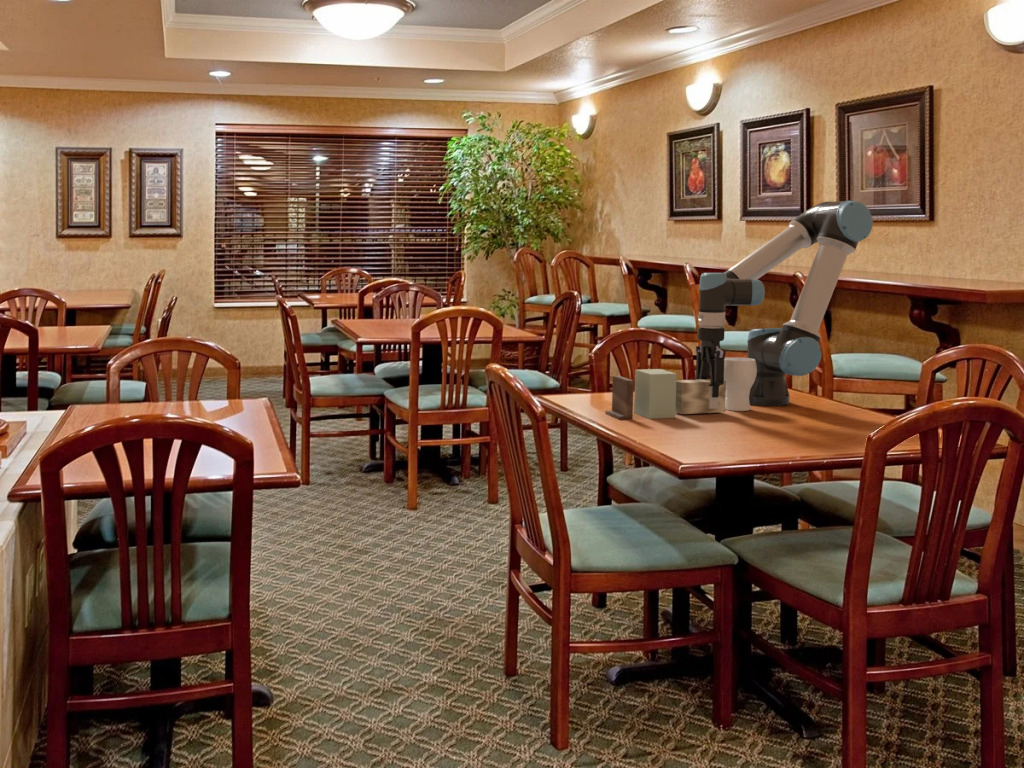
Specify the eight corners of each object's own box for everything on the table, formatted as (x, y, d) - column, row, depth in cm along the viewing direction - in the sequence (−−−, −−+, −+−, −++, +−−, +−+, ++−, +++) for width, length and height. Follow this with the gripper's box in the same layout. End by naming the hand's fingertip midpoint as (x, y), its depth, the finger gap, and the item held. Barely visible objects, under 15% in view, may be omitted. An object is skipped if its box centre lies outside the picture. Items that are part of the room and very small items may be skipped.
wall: (618, 413, 306) (619, 375, 304) (632, 419, 296) (633, 380, 295) (605, 414, 304) (606, 376, 303) (619, 420, 295) (620, 380, 293)
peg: (716, 409, 312) (717, 378, 311) (724, 411, 307) (726, 381, 306) (673, 411, 308) (674, 380, 307) (681, 414, 303) (682, 382, 302)
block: (659, 411, 310) (660, 368, 308) (675, 417, 300) (676, 373, 298) (633, 412, 307) (635, 369, 305) (649, 418, 297) (650, 374, 296)
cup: (755, 412, 310) (757, 361, 308) (718, 411, 312) (720, 360, 310) (754, 407, 321) (756, 357, 318) (718, 405, 323) (720, 356, 321)
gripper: (685, 324, 312) (682, 402, 316) (714, 329, 295) (711, 412, 299) (708, 323, 315) (705, 401, 318) (738, 329, 298) (735, 411, 301)
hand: (708, 406), depth 308 cm, fingers closed on peg, 5 cm apart
